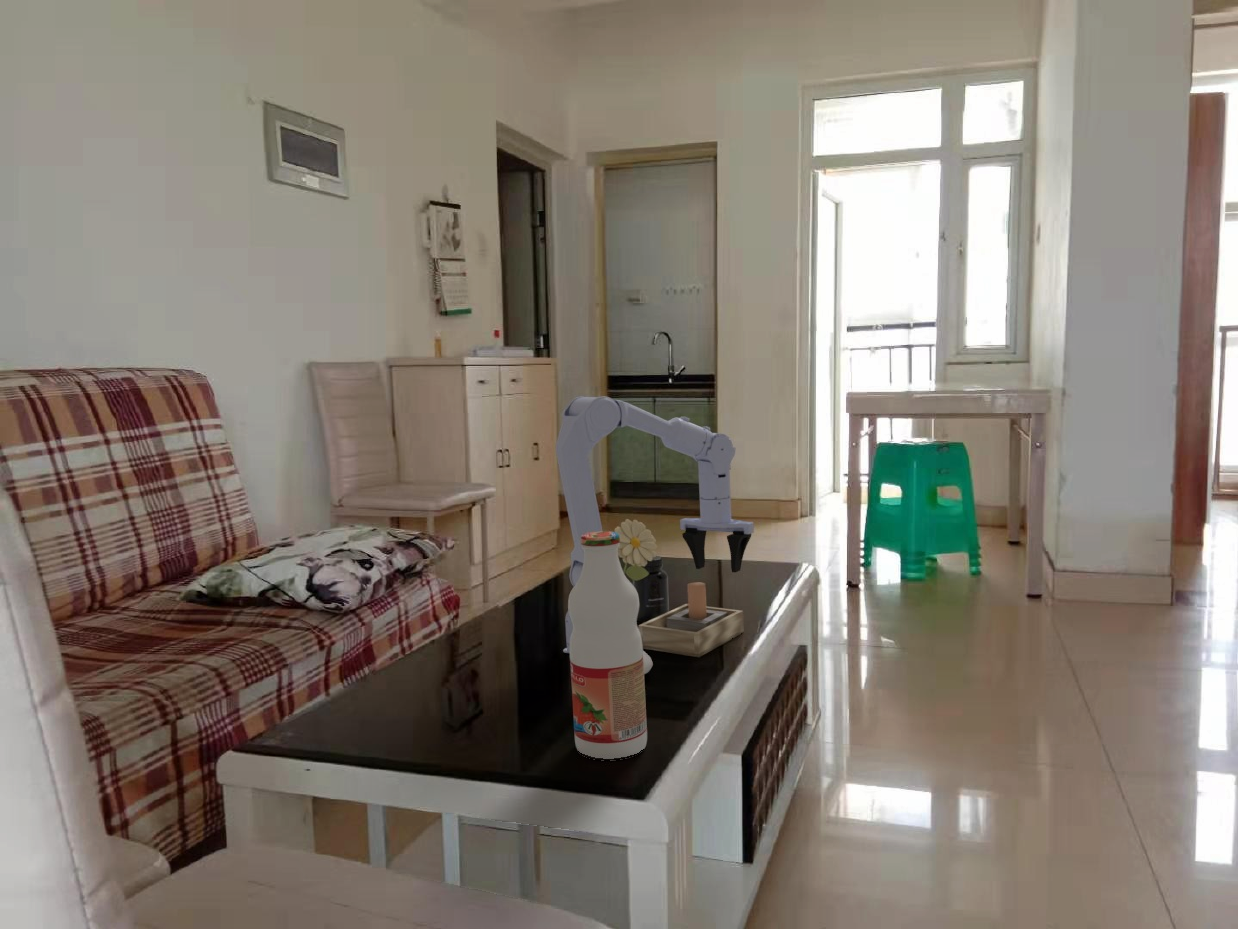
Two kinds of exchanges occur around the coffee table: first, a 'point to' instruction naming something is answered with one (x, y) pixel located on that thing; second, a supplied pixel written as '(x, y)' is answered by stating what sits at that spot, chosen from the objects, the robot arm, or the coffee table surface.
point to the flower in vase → (636, 557)
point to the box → (691, 631)
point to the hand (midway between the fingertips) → (718, 569)
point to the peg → (697, 600)
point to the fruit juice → (606, 655)
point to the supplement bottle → (652, 591)
